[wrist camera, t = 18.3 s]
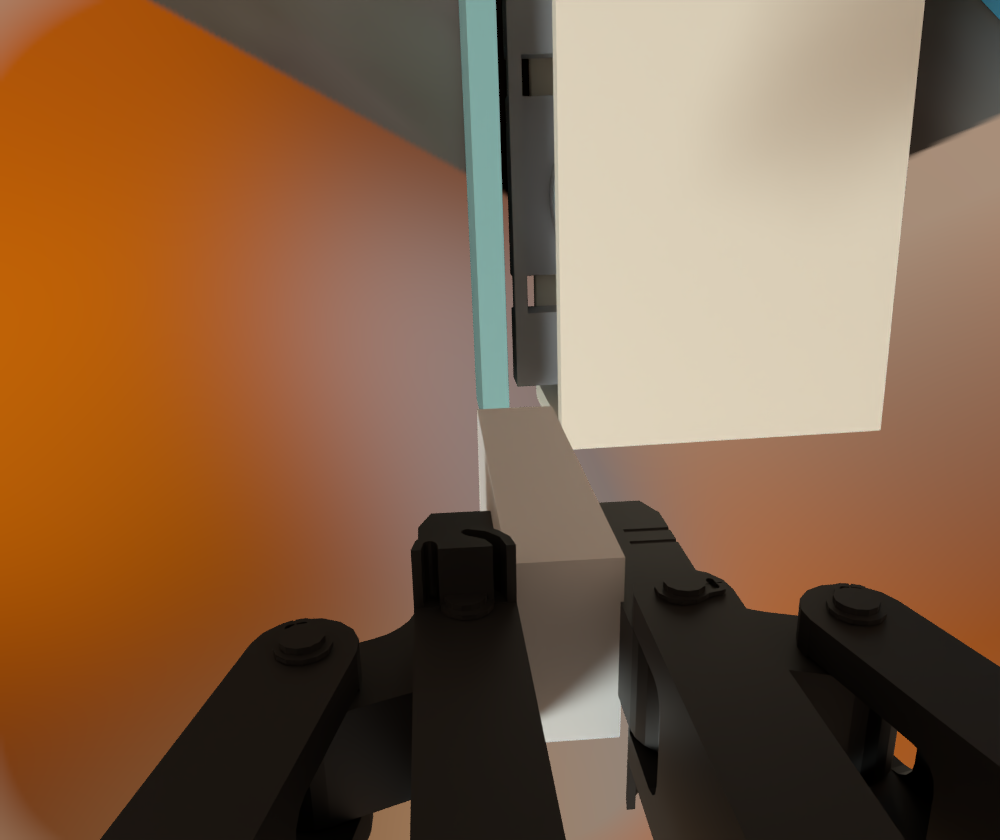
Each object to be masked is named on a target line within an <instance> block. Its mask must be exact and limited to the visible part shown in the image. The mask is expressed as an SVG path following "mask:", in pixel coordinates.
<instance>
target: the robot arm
mask: <svg viewBox="0 0 1000 840" xmlns="http://www.w3.org/2000/svg"><path fill="white" fill-rule="evenodd" d="M477 420H478V422H477V423H478V457H479V493H480V511H474V512H455V513H436V514H431V515H429V517H428V518H427V519H426V520H425V521H424V522H423V523H422V524H421V525H420V526H419V528H418V540H416V541H415V543H414V545H413V547H412V549H411V562H412V579H413V596H414V615H413V616H412V617H411V619H410V620H409V621H408V622H407V623H405V624H404V625H403V626H402V627H400V628H399V629H397V630H395V631H393V632H391V633H389V634H387V635H384V636H381V637H378V638H375V639H372V640H368V641H364V642H360V643H359V639H358V637H357V635H356V634H355V632H354V630H353V629H352V628H350V627H348V626H346V625H345V624H343V623H341V622H338V621H333V620H327V619H322V618H321V619H308V618H305V619H298V620H296V621H289V622H286V623H283V624H281V625H278V626H276V627H274V628H272V629H270V630H268V631H266V632H264V633H263V634H262V635H260V636H259V637H258V638H257V639H256V640H254V641H253V642H252V643H251V644H250V645H249V647H248V648H247V649H246V650H245V652H244V653H243V654H242V656H241V657H240V658H239V660H238V661H237V662H236V664H235V665H234V666H233V667H232V669H231V670H230V671H229V673H228V674H227V675H226V676H225V678H224V679H223V681H222V682H221V683H220V684H219V686H218V687H217V688H216V690H215V691H214V692H213V693H212V695H211V696H210V697H209V699H208V700H207V701H206V703H205V704H204V705H203V706H202V708H201V709H200V710H199V712H198V713H197V714H196V716H195V717H194V718H193V719H192V721H191V722H190V723H189V725H188V726H187V727H186V729H185V730H184V731H183V732H182V734H181V735H180V736H179V738H178V739H177V740H176V742H175V743H174V744H173V745H172V747H171V748H170V749H169V751H168V752H167V753H166V755H165V756H164V757H163V759H162V760H161V761H160V762H159V764H158V765H157V766H156V768H155V769H154V770H153V771H152V773H151V774H150V775H149V777H148V778H147V779H146V781H145V782H144V783H143V784H142V786H141V787H140V788H139V790H138V791H137V792H136V794H135V795H134V796H133V798H132V799H131V800H130V802H129V803H128V804H127V805H126V807H125V808H124V809H123V810H122V812H121V813H120V814H119V816H118V817H117V818H116V820H115V821H114V822H113V823H112V825H111V826H110V827H109V829H108V830H107V831H106V833H105V834H104V835H103V836H102V838H101V839H100V840H368V838H369V836H370V833H371V828H372V821H373V813H374V812H377V811H380V810H383V809H385V808H388V807H391V806H394V805H397V804H400V803H403V802H406V801H409V800H411V823H410V840H566V839H565V834H564V829H563V824H562V819H561V814H560V810H559V805H558V800H557V795H556V790H555V785H554V780H553V776H552V771H551V766H550V761H549V756H548V751H547V746H546V742H556V741H570V740H585V739H599V738H610V737H611V738H612V737H620V713H621V705H622V708H623V711H624V714H625V716H626V719H627V722H628V725H629V730H628V760H627V789H626V804H627V810H628V809H635V796H636V794H637V793H639V796H640V799H641V802H642V805H643V809H644V812H645V814H646V818H647V821H648V824H649V827H650V830H651V833H652V836H653V839H654V840H1000V667H999V666H998V665H996V664H995V663H993V662H992V661H990V660H989V659H987V658H985V657H984V656H982V655H981V654H979V653H978V652H976V651H975V650H973V649H972V648H970V647H968V646H967V645H965V644H964V643H962V642H961V641H959V640H958V639H956V638H955V637H953V636H952V635H950V634H948V633H947V632H945V631H944V630H942V629H941V628H939V627H938V626H936V625H935V624H933V623H932V622H930V621H929V620H927V619H926V618H924V617H922V616H921V615H919V614H918V613H916V612H915V611H913V610H912V609H910V608H909V607H907V606H906V605H904V604H902V603H901V602H899V601H898V600H896V599H894V598H892V597H890V596H888V595H886V594H884V593H882V592H878V591H875V590H872V589H868V588H865V587H864V586H861V585H855V584H851V585H849V584H846V583H839V584H833V585H821V586H818V587H815V588H813V589H810V590H807V591H806V592H805V593H804V595H803V596H802V597H801V598H800V603H799V612H798V616H795V615H787V614H778V613H769V612H763V611H757V610H751V609H747V608H746V607H745V606H744V604H743V603H742V602H741V600H740V599H739V597H738V596H737V594H736V593H735V591H734V590H733V589H732V588H731V587H730V586H729V585H728V584H727V583H726V582H725V581H724V580H722V579H720V578H718V577H716V576H713V575H711V574H709V573H706V572H701V571H697V570H695V568H694V567H693V565H692V564H691V562H690V560H689V559H688V557H687V556H686V554H685V553H684V551H683V549H682V548H681V546H680V545H679V543H678V542H676V538H675V537H674V535H673V534H672V532H671V531H670V530H668V526H667V524H666V523H665V521H664V519H663V518H662V516H661V515H660V513H659V512H657V511H655V510H654V509H652V508H650V507H649V506H647V505H646V504H644V503H642V502H640V501H625V502H605V503H599V502H598V500H597V498H596V496H595V494H594V492H593V490H592V488H591V486H590V484H589V482H588V480H587V478H586V475H585V473H584V471H583V469H582V467H581V465H580V463H579V461H578V459H577V457H576V455H575V453H574V451H573V449H572V447H571V444H570V442H569V440H568V438H567V436H566V434H565V432H564V430H563V428H562V426H561V424H560V422H559V420H558V418H557V416H556V414H555V411H554V409H553V407H552V406H542V407H519V408H495V409H477ZM897 731H898V732H900V733H901V734H902V735H903V736H904V737H905V738H907V739H908V740H909V741H910V742H912V743H913V744H914V746H915V747H916V748H917V753H916V759H915V764H914V767H913V769H910V768H909V767H907V766H906V765H904V764H903V763H902V762H901V761H900V760H898V759H897V758H896V757H895V756H894V748H895V741H896V735H897Z"/></svg>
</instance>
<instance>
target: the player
mask: <svg viewBox="0 0 1000 840" xmlns="http://www.w3.org/2000/svg"><path fill="white" fill-rule="evenodd" d="M924 5H925V0H552V33H553V58H532V59H529V92H530V96H548V95H553V98H554V163H555V229H556V274H552V275H534V306H550V305H557V359H558V384H554V385H537V386H536V393H537V398H538V400H539V402H540V404H541V407H542V406H552V407H553V409H554V411H555V414H556V416H557V418H558V420H559V422H560V424H561V426H562V428H563V430H564V432H565V434H566V436H567V438H568V440H569V442H570V444H571V447H572V449H589V448H605V447H620V446H634V445H635V446H636V445H653V444H668V443H684V442H698V441H699V442H701V441H715V440H731V439H749V438H763V437H764V438H765V437H779V436H797V435H813V434H828V433H843V432H861V431H876V430H880V429H881V419H882V409H883V400H884V391H885V381H886V371H887V361H888V352H889V342H890V333H891V323H892V313H893V304H894V294H895V284H896V274H897V265H898V255H899V246H900V236H901V225H902V217H903V208H904V198H905V188H906V178H907V169H908V159H909V150H910V140H911V131H912V121H913V111H914V102H915V92H916V82H917V73H918V63H919V54H920V44H921V34H922V25H923V15H924Z"/></svg>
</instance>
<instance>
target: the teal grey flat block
mask: <svg viewBox="0 0 1000 840" xmlns="http://www.w3.org/2000/svg"><path fill="white" fill-rule="evenodd" d="M459 18H460V41H461V63H462V85H463V107H464V129H465V151H466V173H467V196H468V217H469V240H470V262H471V284H472V306H473V327H474V350H475V373H476V394H477V401H478V406H479V409H495V408H509V385H508V384H509V382H508V352H507V323H506V292H505V264H504V234H503V233H504V232H503V204H502V172H501V142H500V112H499V82H498V52H497V22H496V0H459ZM502 20H503V52H504V59H506V84H507V97H506V98H505V115H506V147H507V179H508V210H509V243H510V273H511V275H512V278H513V307H512V337H513V367H514V368H513V369H514V370H513V371H514V379H515V381H516V384H517V386H537V385H554V384H558V359H557V305H550V306H531V307H528V299H527V276H531V275H552V274H556V231H555V228H554V225H553V222H552V217H551V212H550V205H549V181H550V175H551V170H552V166H553V162H554V98H553V95H548V96H522V63H521V59H532V58H553V33H552V0H502Z"/></svg>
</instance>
